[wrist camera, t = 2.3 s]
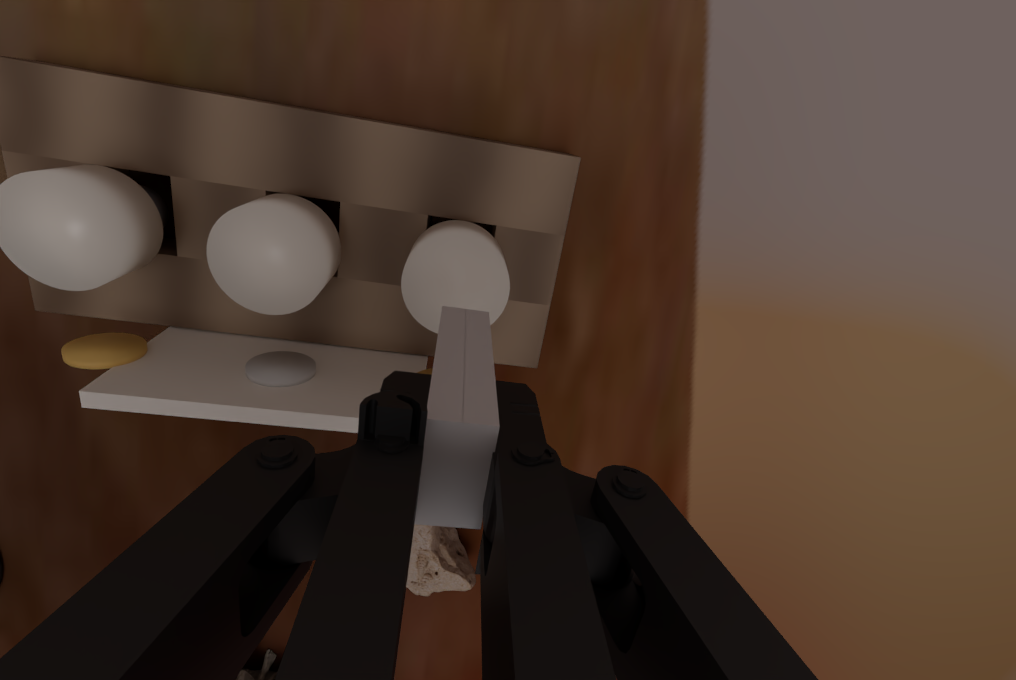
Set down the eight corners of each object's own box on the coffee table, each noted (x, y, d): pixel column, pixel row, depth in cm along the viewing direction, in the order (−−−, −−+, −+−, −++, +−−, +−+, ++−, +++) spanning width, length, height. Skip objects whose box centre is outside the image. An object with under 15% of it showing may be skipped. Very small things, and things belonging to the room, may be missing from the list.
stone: (427, 447, 36) (421, 495, 31) (482, 558, 40) (484, 613, 36) (310, 485, 36) (288, 537, 32) (378, 590, 41) (367, 649, 37)
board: (75, 292, 29) (35, 310, 27) (34, 60, 25) (-19, 53, 22) (531, 347, 33) (537, 368, 30) (569, 153, 28) (580, 157, 26)
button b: (260, 270, 27) (210, 307, 22) (257, 178, 26) (202, 194, 20) (351, 282, 28) (324, 321, 23) (355, 193, 26) (327, 213, 21)
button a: (98, 248, 26) (4, 282, 21) (83, 151, 25) (-24, 161, 19) (196, 261, 27) (130, 298, 22) (190, 168, 25) (115, 181, 20)
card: (149, 315, 30) (13, 401, 21) (147, 297, 30) (7, 376, 21) (469, 352, 33) (471, 443, 24) (471, 336, 32) (474, 422, 23)
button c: (409, 289, 29) (396, 330, 23) (418, 203, 27) (406, 225, 21) (494, 301, 29) (500, 342, 24) (508, 217, 27) (518, 242, 22)
